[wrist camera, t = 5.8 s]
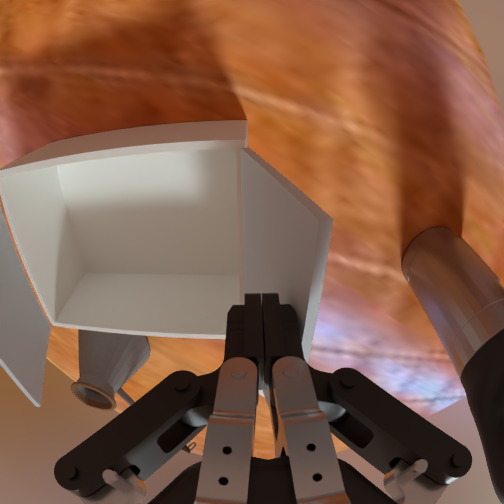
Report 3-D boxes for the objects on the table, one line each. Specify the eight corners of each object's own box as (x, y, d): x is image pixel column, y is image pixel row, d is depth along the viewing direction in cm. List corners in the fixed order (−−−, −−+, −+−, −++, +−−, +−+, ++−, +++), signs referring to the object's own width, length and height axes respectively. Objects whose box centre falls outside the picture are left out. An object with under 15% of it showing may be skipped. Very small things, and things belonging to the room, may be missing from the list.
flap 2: (240, 147, 18) (248, 147, 18) (244, 341, 27) (250, 340, 27) (319, 220, 9) (332, 219, 9) (281, 441, 19) (288, 439, 19)
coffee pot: (77, 326, 42) (43, 401, 29) (99, 286, 37) (54, 373, 25) (184, 385, 50) (173, 460, 37) (222, 358, 45) (216, 446, 32)
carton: (247, 120, 27) (245, 139, 18) (248, 275, 36) (248, 339, 28) (51, 142, 27) (-6, 172, 18) (85, 273, 36) (52, 325, 28)
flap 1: (-66, 234, 10) (-71, 235, 9) (40, 406, 19) (36, 406, 19) (-7, 178, 18) (-11, 179, 18) (51, 326, 27) (47, 327, 27)
